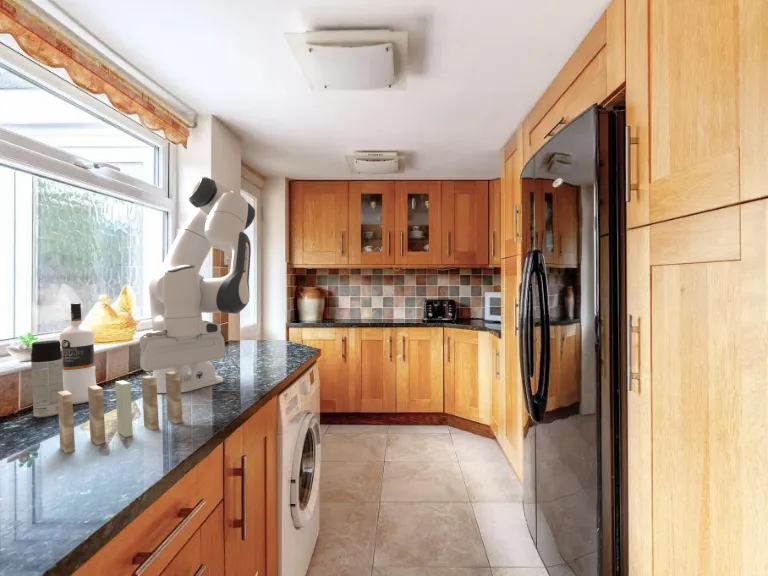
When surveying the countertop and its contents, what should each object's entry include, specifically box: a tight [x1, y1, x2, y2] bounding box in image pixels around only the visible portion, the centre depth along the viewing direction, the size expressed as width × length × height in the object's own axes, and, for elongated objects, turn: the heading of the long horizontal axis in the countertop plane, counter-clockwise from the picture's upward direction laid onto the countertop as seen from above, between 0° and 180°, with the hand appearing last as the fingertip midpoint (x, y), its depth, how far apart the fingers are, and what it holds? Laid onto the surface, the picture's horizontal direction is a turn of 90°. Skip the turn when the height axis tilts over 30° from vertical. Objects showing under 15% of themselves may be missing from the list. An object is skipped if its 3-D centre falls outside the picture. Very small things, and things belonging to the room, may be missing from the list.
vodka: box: [59, 302, 97, 405], centre depth 128 cm, size 9×9×30 cm
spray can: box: [30, 339, 64, 418], centre depth 115 cm, size 7×7×20 cm
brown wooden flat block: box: [88, 384, 106, 446], centre depth 93 cm, size 2×5×12 cm, turn 48°
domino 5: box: [165, 372, 183, 424], centre depth 105 cm, size 2×5×12 cm, turn 48°
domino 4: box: [141, 375, 160, 431], centre depth 101 cm, size 2×5×12 cm, turn 48°
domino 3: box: [115, 379, 134, 438], centre depth 97 cm, size 2×5×12 cm, turn 48°
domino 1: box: [57, 390, 76, 454], centre depth 89 cm, size 2×5×12 cm, turn 48°
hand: (186, 382), depth 108 cm, fingers closed
